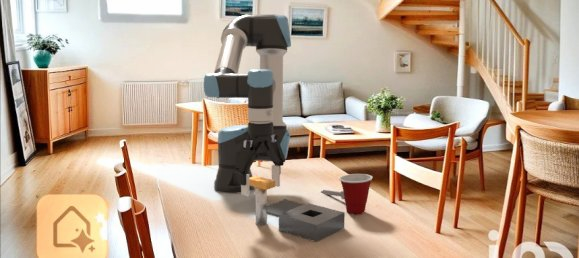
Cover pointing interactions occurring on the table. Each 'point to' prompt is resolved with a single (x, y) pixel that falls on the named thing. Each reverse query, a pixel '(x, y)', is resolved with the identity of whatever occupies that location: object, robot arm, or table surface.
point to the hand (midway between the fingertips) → (261, 190)
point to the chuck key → (261, 197)
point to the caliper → (334, 193)
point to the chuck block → (311, 222)
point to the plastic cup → (355, 192)
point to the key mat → (282, 207)
